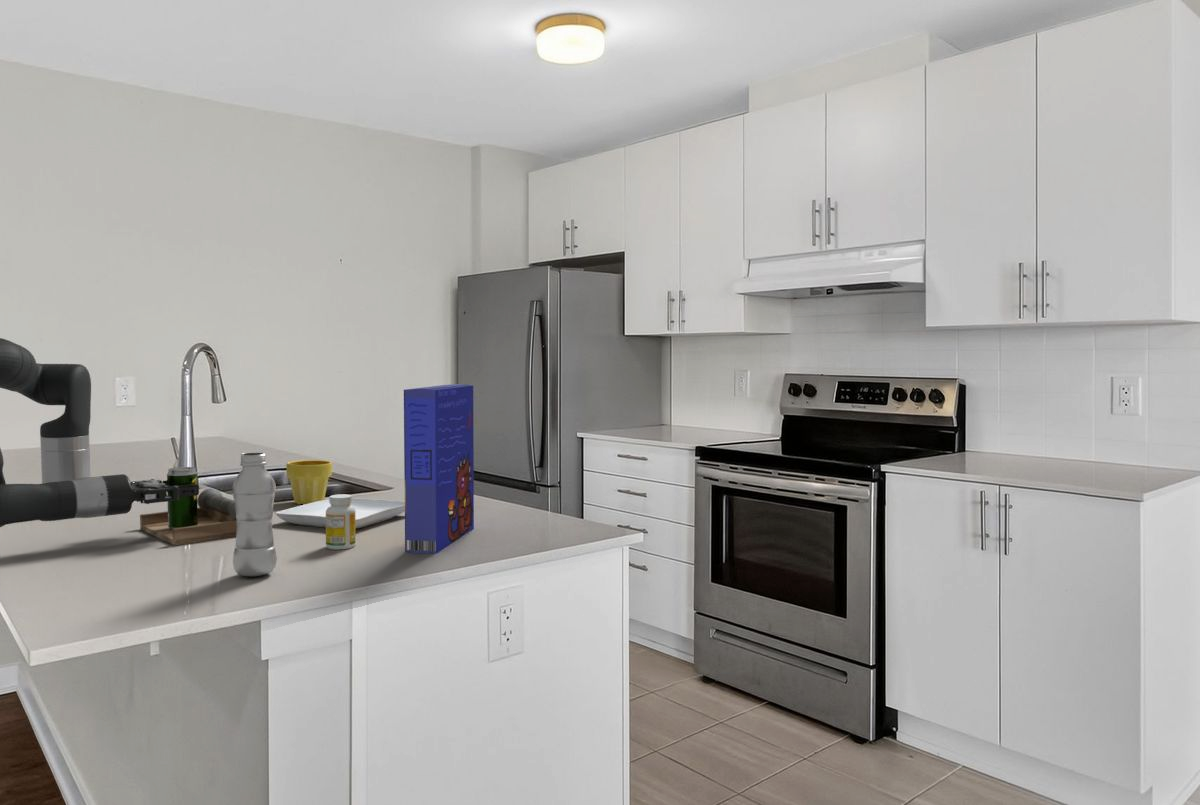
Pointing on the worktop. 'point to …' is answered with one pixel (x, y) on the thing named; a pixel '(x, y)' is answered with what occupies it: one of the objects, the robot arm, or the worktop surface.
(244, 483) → the plastic bottle
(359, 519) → the salad plate
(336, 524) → the supplement bottle
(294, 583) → the worktop surface
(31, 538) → the worktop surface
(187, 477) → the beer can
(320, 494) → the plant pot
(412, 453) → the cereal box
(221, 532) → the bay
